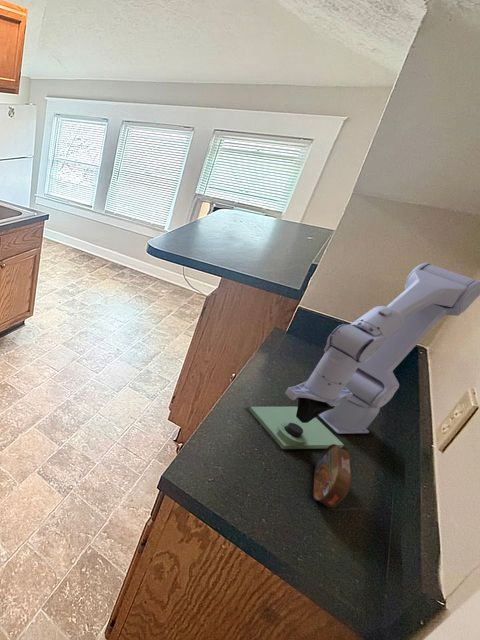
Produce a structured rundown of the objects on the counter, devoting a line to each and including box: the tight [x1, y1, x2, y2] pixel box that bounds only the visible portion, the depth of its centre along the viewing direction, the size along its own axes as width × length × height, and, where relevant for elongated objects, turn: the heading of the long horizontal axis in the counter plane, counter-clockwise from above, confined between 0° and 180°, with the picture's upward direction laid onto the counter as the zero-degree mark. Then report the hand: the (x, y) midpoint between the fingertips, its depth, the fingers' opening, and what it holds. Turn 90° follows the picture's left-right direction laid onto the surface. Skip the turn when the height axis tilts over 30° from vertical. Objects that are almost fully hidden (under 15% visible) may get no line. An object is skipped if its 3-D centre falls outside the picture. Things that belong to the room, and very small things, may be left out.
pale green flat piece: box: [248, 406, 345, 450], centre depth 95 cm, size 16×12×3 cm
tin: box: [313, 444, 353, 509], centre depth 79 cm, size 15×3×8 cm, turn 141°
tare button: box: [285, 423, 303, 438], centre depth 90 cm, size 3×3×2 cm
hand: (301, 419), depth 89 cm, fingers closed
